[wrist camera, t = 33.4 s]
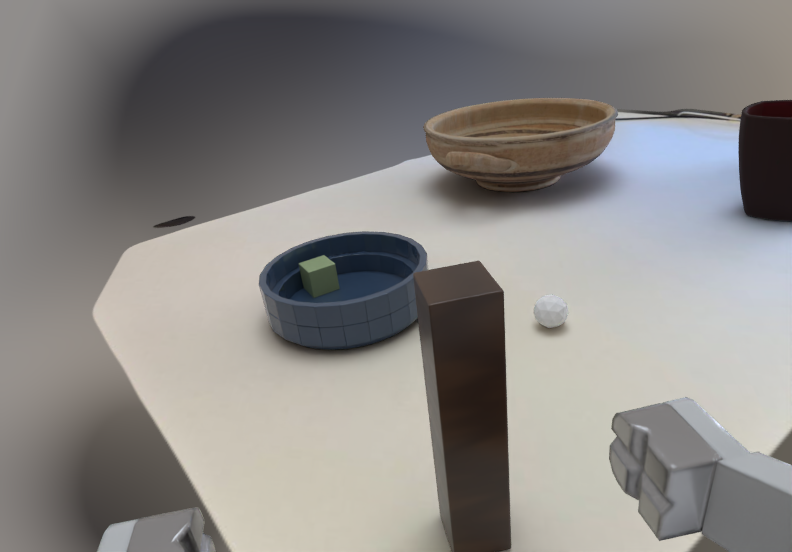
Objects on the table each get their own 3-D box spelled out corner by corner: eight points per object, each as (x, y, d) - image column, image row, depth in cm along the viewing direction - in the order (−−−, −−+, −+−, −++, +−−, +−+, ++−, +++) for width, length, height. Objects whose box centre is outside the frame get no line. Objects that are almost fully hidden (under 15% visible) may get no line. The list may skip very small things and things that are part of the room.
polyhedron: (550, 313, 50) (550, 284, 48) (574, 327, 47) (576, 297, 46) (526, 324, 49) (526, 295, 47) (550, 338, 46) (551, 308, 45)
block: (313, 298, 56) (308, 272, 55) (303, 288, 59) (298, 263, 57) (339, 288, 57) (335, 263, 56) (328, 279, 60) (324, 254, 58)
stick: (454, 563, 29) (428, 305, 22) (439, 514, 32) (412, 272, 25) (511, 548, 29) (504, 290, 22) (491, 501, 32) (479, 259, 25)
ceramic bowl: (570, 233, 65) (572, 151, 61) (378, 210, 80) (369, 143, 76) (638, 152, 92) (643, 91, 87) (484, 146, 107) (482, 94, 103)
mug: (716, 219, 64) (733, 116, 59) (743, 185, 73) (760, 93, 68) (820, 233, 58) (849, 120, 52) (835, 194, 67) (862, 93, 61)
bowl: (267, 370, 47) (254, 321, 45) (272, 287, 61) (262, 247, 59) (449, 334, 49) (445, 285, 46) (412, 261, 63) (408, 221, 61)
